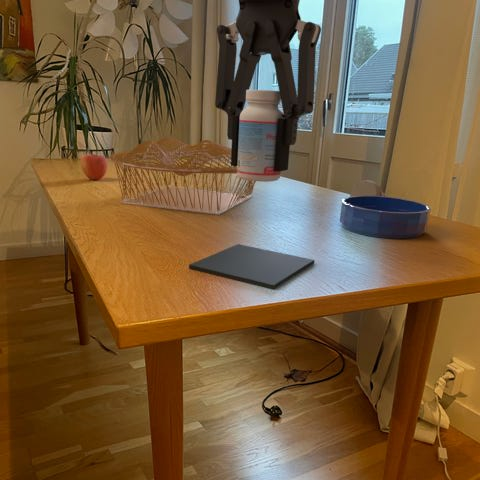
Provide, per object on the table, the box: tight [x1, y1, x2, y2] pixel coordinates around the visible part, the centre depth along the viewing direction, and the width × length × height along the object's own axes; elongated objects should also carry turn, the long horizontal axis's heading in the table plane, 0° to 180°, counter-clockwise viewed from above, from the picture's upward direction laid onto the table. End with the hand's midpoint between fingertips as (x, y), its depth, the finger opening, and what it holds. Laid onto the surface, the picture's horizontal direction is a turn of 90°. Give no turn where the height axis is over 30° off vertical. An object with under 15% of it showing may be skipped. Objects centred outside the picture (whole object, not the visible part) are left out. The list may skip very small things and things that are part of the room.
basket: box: [109, 137, 257, 216], centre depth 113 cm, size 36×40×14 cm
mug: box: [349, 179, 387, 197], centre depth 113 cm, size 8×10×10 cm
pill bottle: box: [236, 89, 284, 183], centre depth 64 cm, size 6×6×11 cm
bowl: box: [339, 196, 432, 240], centre depth 97 cm, size 17×17×5 cm
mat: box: [188, 243, 315, 290], centre depth 72 cm, size 14×14×1 cm
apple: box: [80, 149, 108, 181], centre depth 136 cm, size 7×7×8 cm
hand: (259, 167), depth 66 cm, fingers closed on pill bottle, 6 cm apart
